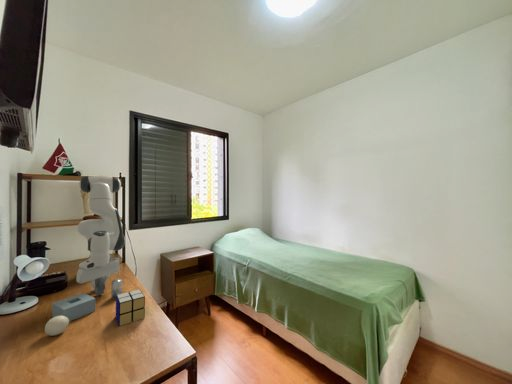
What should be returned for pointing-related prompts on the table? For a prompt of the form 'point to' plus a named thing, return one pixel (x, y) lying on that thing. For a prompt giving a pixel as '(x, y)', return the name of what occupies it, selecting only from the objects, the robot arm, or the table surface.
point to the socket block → (74, 306)
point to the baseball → (56, 325)
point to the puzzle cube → (130, 307)
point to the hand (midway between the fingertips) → (99, 285)
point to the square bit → (99, 286)
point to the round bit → (116, 288)
